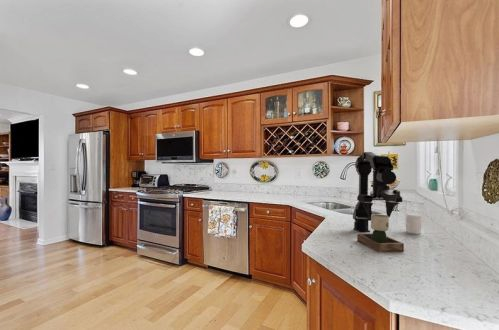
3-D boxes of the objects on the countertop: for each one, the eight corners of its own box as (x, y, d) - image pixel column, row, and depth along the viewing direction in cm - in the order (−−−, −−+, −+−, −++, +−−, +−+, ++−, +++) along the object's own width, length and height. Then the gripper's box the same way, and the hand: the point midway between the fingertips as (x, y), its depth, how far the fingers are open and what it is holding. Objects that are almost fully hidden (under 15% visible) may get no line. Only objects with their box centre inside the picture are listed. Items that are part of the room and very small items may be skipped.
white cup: (401, 230, 139) (401, 213, 139) (412, 230, 141) (413, 213, 141) (413, 234, 132) (414, 216, 132) (425, 234, 134) (425, 215, 134)
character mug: (390, 248, 105) (391, 218, 105) (372, 246, 107) (372, 216, 107) (385, 241, 115) (386, 214, 115) (368, 239, 117) (369, 212, 117)
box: (379, 240, 119) (379, 233, 119) (403, 251, 104) (403, 243, 104) (357, 240, 118) (357, 233, 118) (378, 252, 102) (378, 243, 102)
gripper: (372, 183, 102) (371, 221, 102) (412, 184, 104) (411, 221, 104) (356, 182, 113) (356, 216, 113) (393, 182, 116) (393, 215, 115)
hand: (379, 217), depth 111 cm, fingers open, 9 cm apart
